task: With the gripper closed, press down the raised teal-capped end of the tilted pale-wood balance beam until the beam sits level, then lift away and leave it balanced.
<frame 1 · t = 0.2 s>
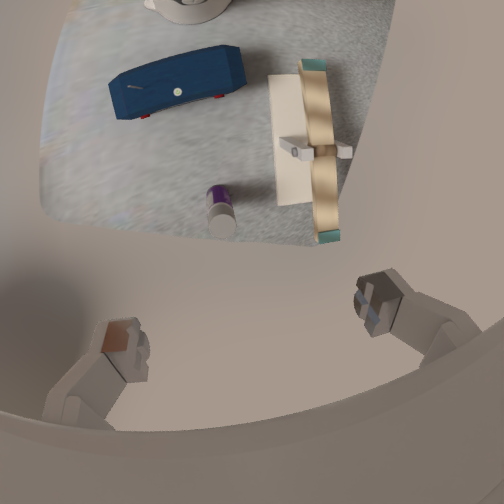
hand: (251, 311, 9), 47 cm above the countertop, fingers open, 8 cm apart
container: (217, 195, 56), on the countertop
radio: (181, 85, 43), on the countertop
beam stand: (298, 139, 52), on the countertop
beam: (321, 150, 42), point 12 cm above the countertop, hinge at -10.0°
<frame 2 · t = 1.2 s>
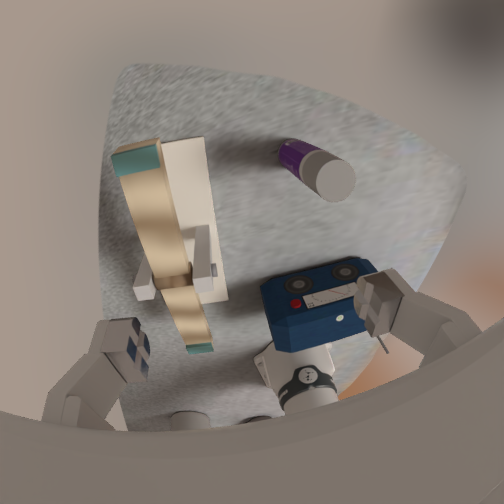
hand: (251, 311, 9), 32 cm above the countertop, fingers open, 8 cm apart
container: (292, 153, 38), on the countertop
radio: (314, 280, 51), on the countertop
cylinder vase: (190, 417, 73), on the countertop
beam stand: (181, 231, 41), on the countertop
beam: (174, 276, 31), point 12 cm above the countertop, hinge at -10.0°
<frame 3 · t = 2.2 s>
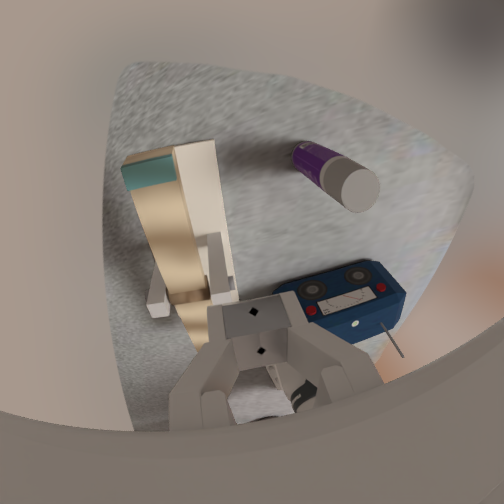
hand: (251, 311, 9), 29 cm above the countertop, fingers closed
container: (306, 156, 36), on the countertop
radio: (326, 283, 50), on the countertop
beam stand: (191, 239, 40), on the countertop
beam: (189, 290, 30), point 12 cm above the countertop, hinge at -10.0°
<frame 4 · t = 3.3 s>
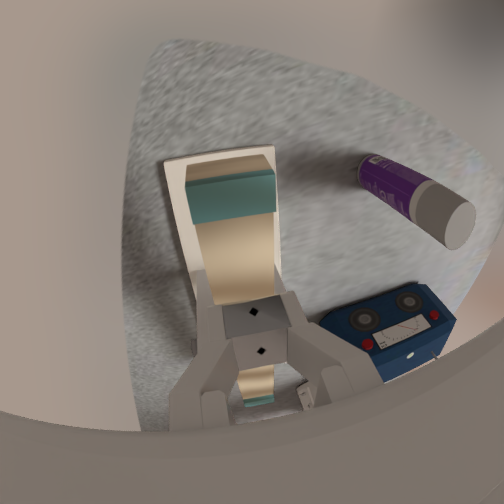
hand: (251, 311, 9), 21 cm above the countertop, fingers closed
container: (371, 171, 30), on the countertop
radio: (372, 309, 43), on the countertop
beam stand: (234, 265, 33), on the countertop
beam: (249, 341, 23), point 12 cm above the countertop, hinge at -10.0°
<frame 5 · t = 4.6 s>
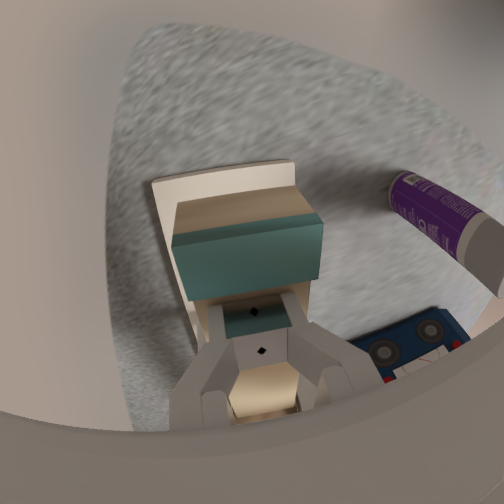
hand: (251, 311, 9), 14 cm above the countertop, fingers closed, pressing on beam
container: (403, 191, 25), on the countertop
radio: (389, 336, 38), on the countertop
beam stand: (241, 302, 28), on the countertop
beam: (263, 406, 18), point 12 cm above the countertop, hinge at -5.5°, touching gripper
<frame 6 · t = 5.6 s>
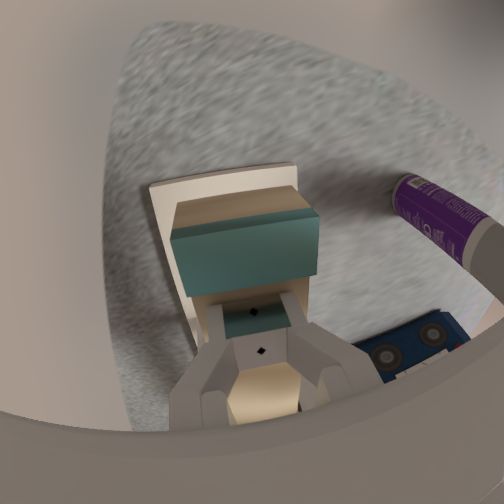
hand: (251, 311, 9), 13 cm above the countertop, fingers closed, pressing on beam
container: (407, 194, 24), on the countertop
radio: (392, 340, 37), on the countertop
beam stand: (242, 308, 27), on the countertop
beam: (265, 416, 17), point 12 cm above the countertop, hinge at -1.9°, touching gripper
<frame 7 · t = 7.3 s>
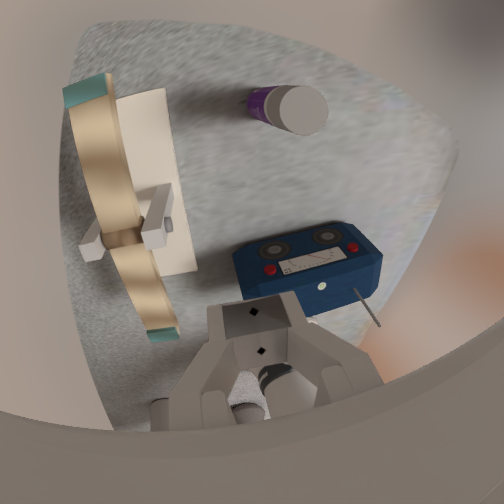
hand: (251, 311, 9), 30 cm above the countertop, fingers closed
container: (263, 103, 33), on the countertop
coffee pot: (247, 400, 74), on the countertop
radio: (294, 248, 46), on the countertop
cylinder vase: (170, 405, 69), on the countertop
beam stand: (143, 192, 36), on the countertop
beam: (124, 233, 26), point 12 cm above the countertop, hinge at -1.9°
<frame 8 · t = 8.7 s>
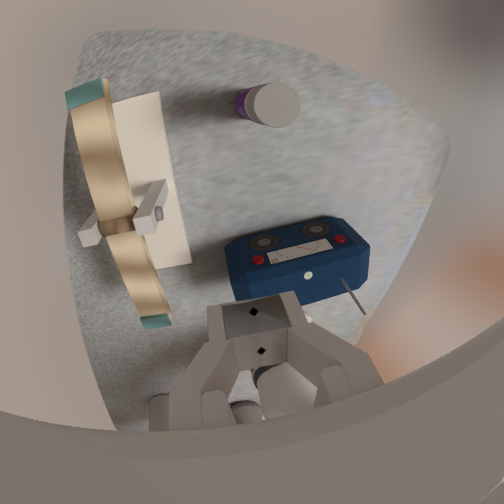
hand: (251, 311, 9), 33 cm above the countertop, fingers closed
container: (250, 103, 35), on the countertop
coffee pot: (245, 398, 75), on the countertop
radio: (285, 242, 48), on the countertop
cylinder vase: (170, 402, 71), on the countertop
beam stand: (140, 188, 38), on the countertop
beam: (119, 222, 28), point 12 cm above the countertop, hinge at -1.9°
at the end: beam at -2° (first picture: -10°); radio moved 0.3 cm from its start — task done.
